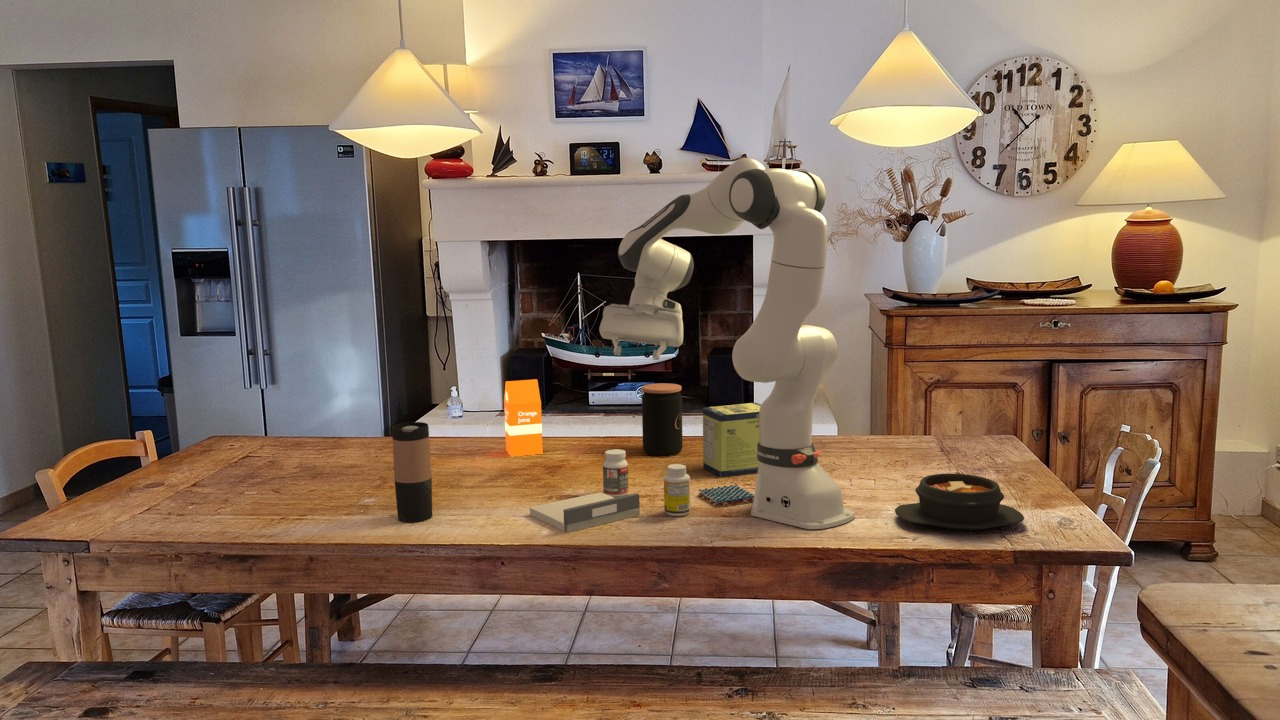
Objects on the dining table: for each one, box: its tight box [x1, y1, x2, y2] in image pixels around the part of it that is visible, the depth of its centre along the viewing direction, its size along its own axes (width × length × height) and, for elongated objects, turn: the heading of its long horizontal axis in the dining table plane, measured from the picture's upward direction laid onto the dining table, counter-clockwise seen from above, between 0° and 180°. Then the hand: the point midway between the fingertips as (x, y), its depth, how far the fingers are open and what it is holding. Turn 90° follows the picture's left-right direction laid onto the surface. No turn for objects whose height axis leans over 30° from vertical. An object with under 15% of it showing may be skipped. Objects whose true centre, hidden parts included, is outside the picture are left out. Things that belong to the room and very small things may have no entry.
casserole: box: [894, 472, 1025, 532], centre depth 188 cm, size 25×19×8 cm
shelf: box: [529, 491, 641, 533], centre depth 197 cm, size 15×18×4 cm
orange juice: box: [503, 378, 544, 457], centre depth 251 cm, size 8×9×20 cm
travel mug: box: [391, 421, 433, 524], centre depth 196 cm, size 8×8×20 cm
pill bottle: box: [602, 448, 629, 498], centre depth 212 cm, size 6×6×10 cm
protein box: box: [702, 402, 762, 478], centre depth 231 cm, size 10×16×16 cm
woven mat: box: [697, 484, 754, 508], centre depth 207 cm, size 10×11×2 cm
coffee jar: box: [641, 382, 683, 457], centre depth 249 cm, size 11×11×18 cm
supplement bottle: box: [663, 463, 691, 517], centre depth 197 cm, size 6×6×10 cm
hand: (636, 356), depth 220 cm, fingers open, 8 cm apart
